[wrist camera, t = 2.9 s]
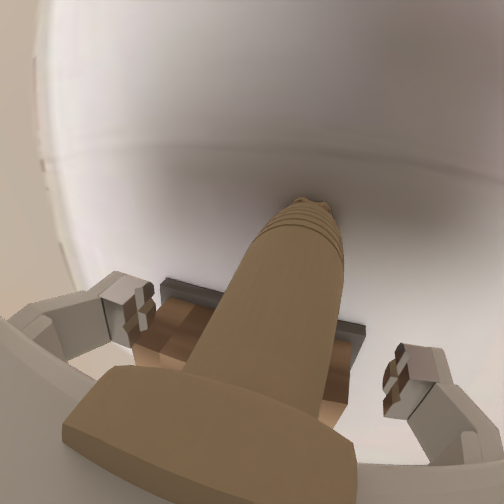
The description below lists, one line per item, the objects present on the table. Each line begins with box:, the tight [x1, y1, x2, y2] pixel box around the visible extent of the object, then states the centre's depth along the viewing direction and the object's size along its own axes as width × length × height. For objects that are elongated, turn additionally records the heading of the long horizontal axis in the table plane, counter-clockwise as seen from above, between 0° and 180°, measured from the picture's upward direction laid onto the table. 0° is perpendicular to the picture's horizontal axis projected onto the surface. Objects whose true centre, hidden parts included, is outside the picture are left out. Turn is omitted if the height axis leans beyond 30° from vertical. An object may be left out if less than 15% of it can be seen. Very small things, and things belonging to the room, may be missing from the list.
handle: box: [62, 197, 358, 504], centre depth 10 cm, size 5×6×15 cm
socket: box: [132, 278, 366, 429], centre depth 20 cm, size 14×14×6 cm
